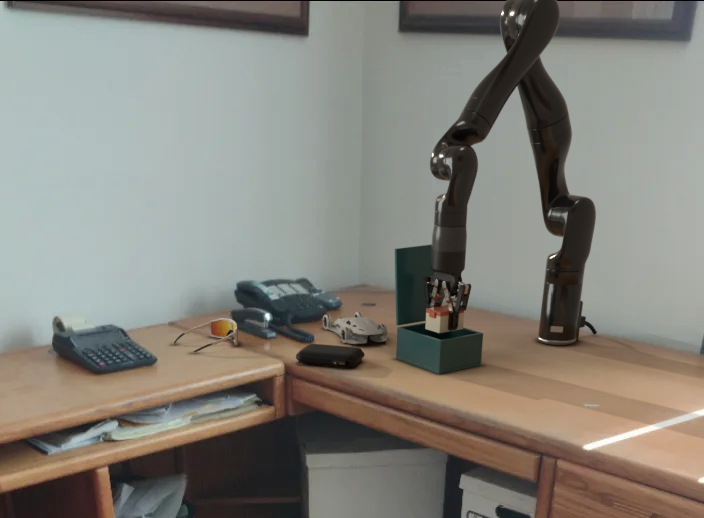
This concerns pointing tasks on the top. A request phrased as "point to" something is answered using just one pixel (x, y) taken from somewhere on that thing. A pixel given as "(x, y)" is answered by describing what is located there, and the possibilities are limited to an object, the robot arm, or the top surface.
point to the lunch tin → (439, 348)
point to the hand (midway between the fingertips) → (444, 327)
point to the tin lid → (411, 283)
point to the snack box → (441, 319)
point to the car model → (356, 329)
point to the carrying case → (330, 355)
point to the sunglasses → (216, 331)
